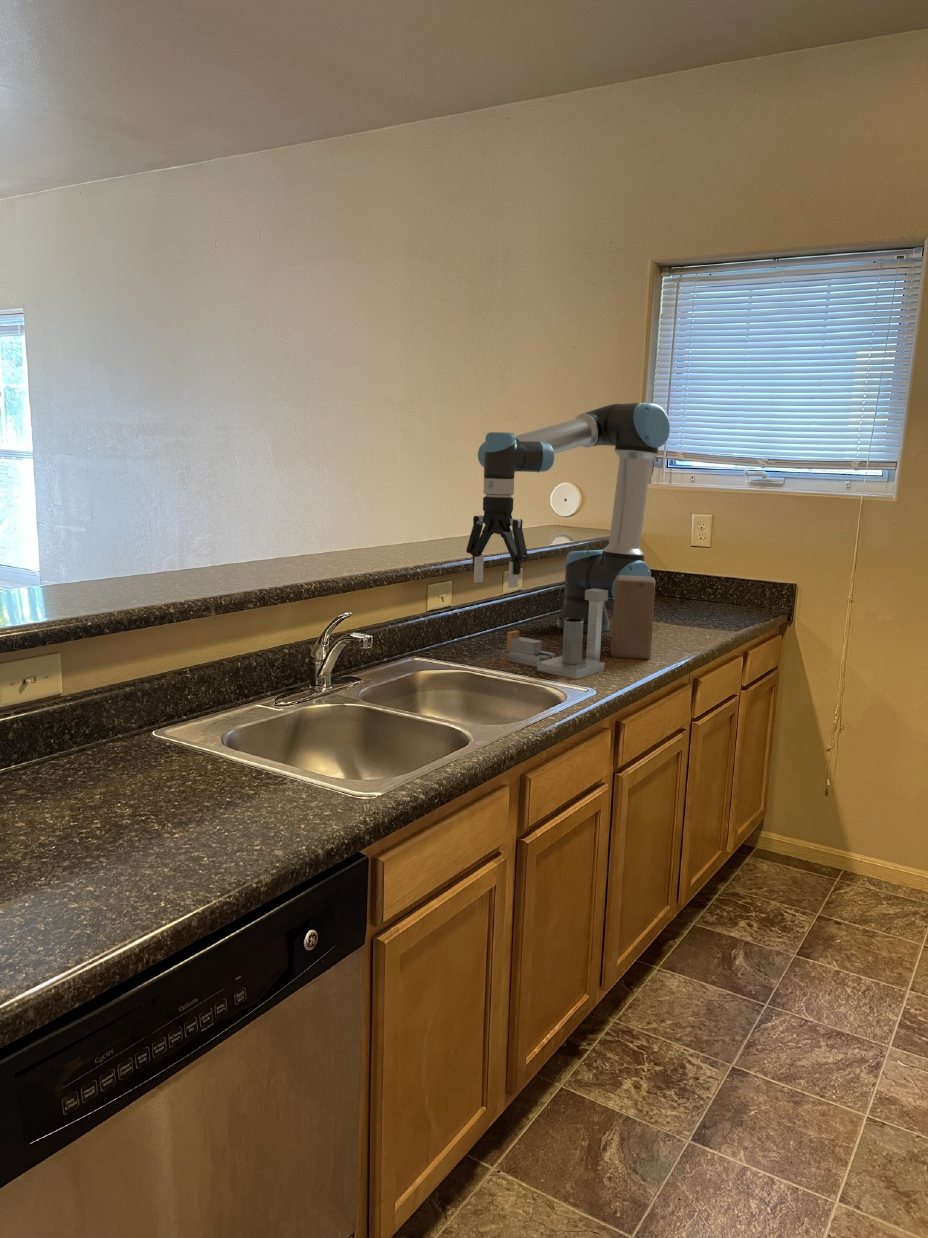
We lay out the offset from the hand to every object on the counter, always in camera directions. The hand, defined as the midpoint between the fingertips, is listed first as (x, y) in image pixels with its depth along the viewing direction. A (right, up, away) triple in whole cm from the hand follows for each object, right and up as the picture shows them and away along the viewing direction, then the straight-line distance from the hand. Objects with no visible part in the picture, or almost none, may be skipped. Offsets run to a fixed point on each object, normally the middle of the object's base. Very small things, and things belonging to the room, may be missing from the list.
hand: (495, 584), depth 230 cm
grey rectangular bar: (+7, -17, -3) cm, 18 cm away
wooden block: (+35, -18, +7) cm, 40 cm away
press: (+15, -20, -7) cm, 26 cm away
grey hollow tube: (+18, -19, -12) cm, 29 cm away
